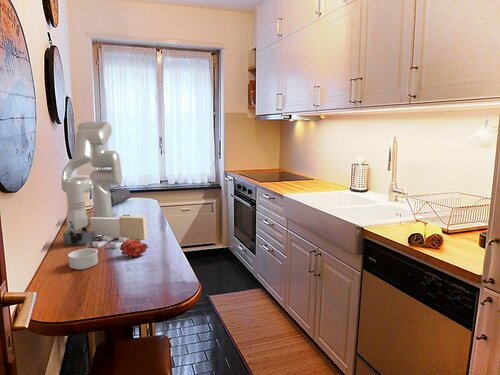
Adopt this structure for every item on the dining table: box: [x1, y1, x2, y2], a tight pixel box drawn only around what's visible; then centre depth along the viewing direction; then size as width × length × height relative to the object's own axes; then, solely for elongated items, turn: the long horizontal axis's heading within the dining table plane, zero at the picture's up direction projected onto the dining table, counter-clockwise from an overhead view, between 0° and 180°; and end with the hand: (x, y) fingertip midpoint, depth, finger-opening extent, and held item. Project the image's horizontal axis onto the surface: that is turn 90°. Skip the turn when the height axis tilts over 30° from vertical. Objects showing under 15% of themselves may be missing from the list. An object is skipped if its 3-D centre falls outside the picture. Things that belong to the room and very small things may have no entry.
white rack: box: [89, 215, 148, 249], centre depth 182 cm, size 18×30×11 cm, turn 78°
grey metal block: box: [62, 230, 97, 246], centre depth 182 cm, size 4×14×6 cm, turn 85°
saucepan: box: [67, 243, 99, 271], centre depth 156 cm, size 12×20×6 cm, turn 15°
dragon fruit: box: [119, 239, 149, 259], centre depth 162 cm, size 8×8×12 cm
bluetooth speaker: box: [110, 188, 132, 207], centre depth 272 cm, size 23×9×10 cm, turn 167°
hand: (79, 240), depth 182 cm, fingers open, 7 cm apart
